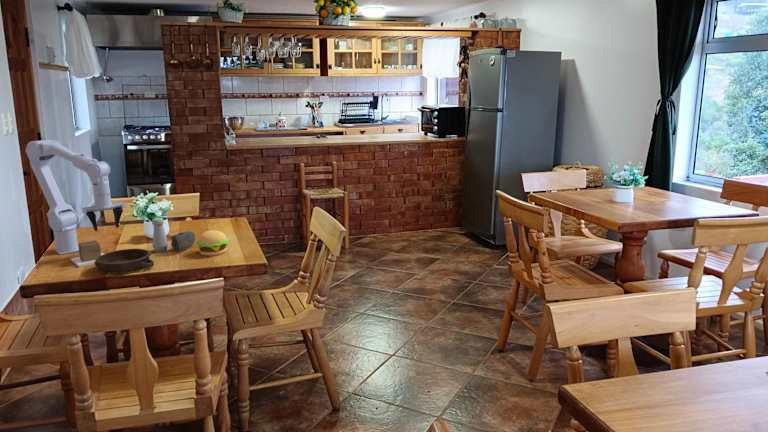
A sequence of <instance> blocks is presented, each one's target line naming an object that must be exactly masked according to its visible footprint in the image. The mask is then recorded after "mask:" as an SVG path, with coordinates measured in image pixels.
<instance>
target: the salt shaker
mask: <svg viewBox="0 0 768 432" xmlns="http://www.w3.org/2000/svg"><path fill="white" fill-rule="evenodd" d="M164 223H165V220H164V218H162V217H155V218H153V219H152V220H151V224H152V225H153V235H152V248H153V250H155V252H156V253H162V252H163V253H164V252H166V251H167V250H168V247H169V242H168V238H167V235H166V231H165V228H164Z"/></svg>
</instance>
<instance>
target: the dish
mask: <svg viewBox="0 0 768 432" xmlns="http://www.w3.org/2000/svg"><path fill="white" fill-rule="evenodd" d="M151 255H152V252H151V251H150V250H147V249H144V248H143V249H142V248H126V249H118V250H113V251H110V252H107V253H104V254H103V255H101V256H99V257H98V258H97V259H96V261H95V262H94V263H95V264H94V265H95V267H98V268H100V269H101V270H102V271H103V272H105V273H109V274H125V273H128V272H129V273H133V272H137V271H140V270H143V269H150V268H153V267H154V265H155V261H153V259H150V257H151ZM129 273H128V274H129Z"/></svg>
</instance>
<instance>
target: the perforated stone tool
mask: <svg viewBox="0 0 768 432" xmlns="http://www.w3.org/2000/svg"><path fill="white" fill-rule="evenodd" d="M170 239H171V243H170V245H171V248H172V249H173V250H172V251H174V252H178V253H179V252H183V251H186V250H187V249H189V248H191V247H192V246H193V245H194V243H195V241H196V235H195V233H194V232H193V231H182V232H178V233H176V234H174V235H172V236H170Z"/></svg>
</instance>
